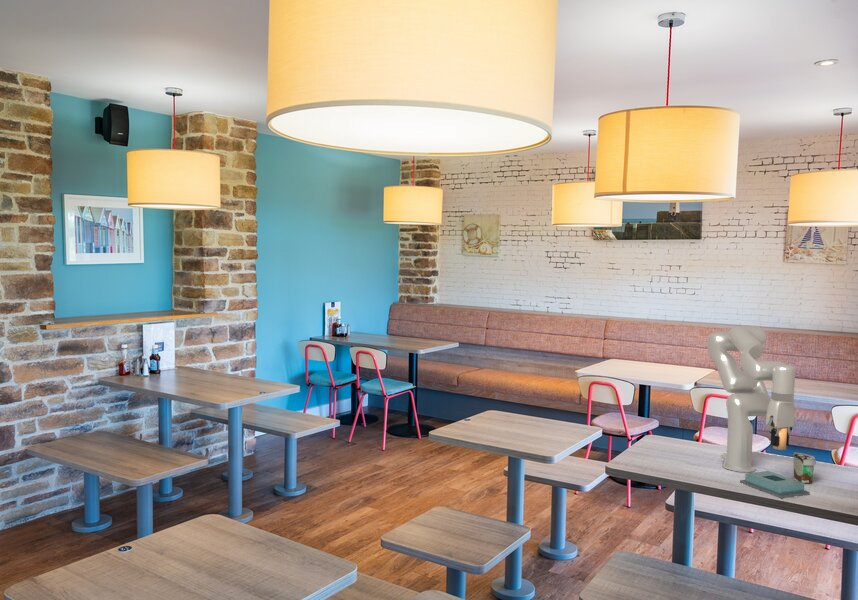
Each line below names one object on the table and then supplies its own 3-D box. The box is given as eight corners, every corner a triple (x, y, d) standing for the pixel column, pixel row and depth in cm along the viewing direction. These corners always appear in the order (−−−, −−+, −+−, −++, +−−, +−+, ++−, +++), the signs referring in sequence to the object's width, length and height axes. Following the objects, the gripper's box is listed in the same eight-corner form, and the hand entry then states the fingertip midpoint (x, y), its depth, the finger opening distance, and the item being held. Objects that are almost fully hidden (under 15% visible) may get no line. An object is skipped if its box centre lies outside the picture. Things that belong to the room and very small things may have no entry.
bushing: (770, 447, 255) (771, 426, 254) (778, 446, 256) (779, 425, 256) (780, 450, 251) (781, 429, 250) (788, 449, 252) (789, 428, 252)
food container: (820, 487, 258) (821, 461, 258) (802, 485, 259) (804, 460, 259) (808, 477, 270) (810, 453, 270) (792, 476, 271) (793, 451, 271)
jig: (739, 482, 261) (740, 472, 261) (766, 479, 266) (767, 469, 266) (781, 498, 243) (782, 487, 243) (809, 494, 248) (810, 484, 248)
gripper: (789, 394, 259) (786, 440, 260) (757, 396, 253) (754, 444, 254) (807, 398, 252) (804, 446, 253) (774, 400, 246) (771, 449, 247)
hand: (779, 444), depth 254 cm, fingers closed on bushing, 4 cm apart
